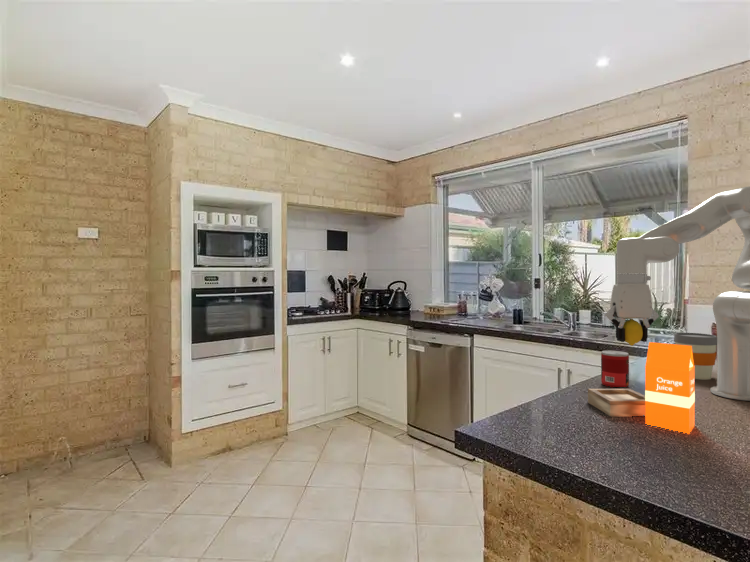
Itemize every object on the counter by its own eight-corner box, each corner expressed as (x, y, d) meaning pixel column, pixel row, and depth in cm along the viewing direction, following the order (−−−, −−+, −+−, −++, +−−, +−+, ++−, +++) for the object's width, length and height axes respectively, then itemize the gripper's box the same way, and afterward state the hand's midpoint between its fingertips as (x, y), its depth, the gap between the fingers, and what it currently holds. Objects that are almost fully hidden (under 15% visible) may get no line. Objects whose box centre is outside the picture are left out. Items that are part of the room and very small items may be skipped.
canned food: (632, 388, 134) (632, 354, 134) (605, 387, 136) (605, 354, 135) (623, 382, 141) (623, 350, 141) (598, 381, 143) (598, 350, 143)
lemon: (639, 344, 124) (639, 318, 124) (645, 347, 119) (645, 319, 119) (619, 343, 126) (618, 317, 126) (623, 346, 121) (623, 319, 121)
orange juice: (652, 417, 107) (652, 340, 107) (695, 425, 101) (695, 343, 101) (644, 425, 102) (644, 343, 101) (689, 434, 95) (689, 348, 95)
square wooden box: (630, 402, 120) (630, 388, 120) (657, 416, 108) (657, 401, 108) (587, 402, 120) (587, 388, 120) (610, 416, 108) (610, 401, 108)
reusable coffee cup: (697, 381, 142) (697, 338, 142) (665, 373, 154) (665, 333, 154) (727, 379, 145) (727, 336, 144) (692, 371, 157) (692, 332, 157)
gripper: (653, 279, 126) (653, 339, 126) (595, 280, 127) (595, 339, 127) (669, 279, 118) (669, 343, 119) (608, 280, 119) (608, 343, 119)
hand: (631, 340), depth 123 cm, fingers closed on lemon, 5 cm apart
